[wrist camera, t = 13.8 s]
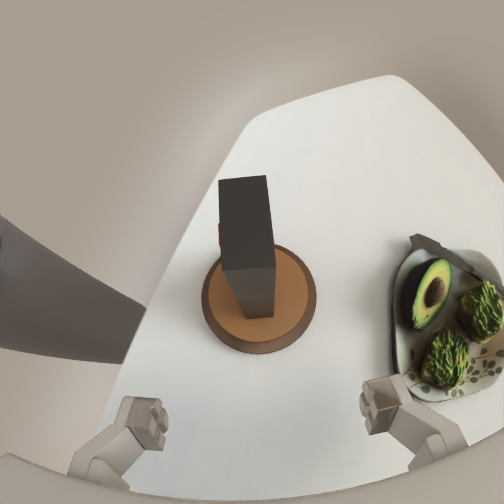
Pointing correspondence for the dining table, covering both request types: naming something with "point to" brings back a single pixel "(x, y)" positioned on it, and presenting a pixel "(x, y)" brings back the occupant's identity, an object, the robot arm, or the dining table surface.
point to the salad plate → (447, 321)
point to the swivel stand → (266, 346)
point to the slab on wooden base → (253, 267)
